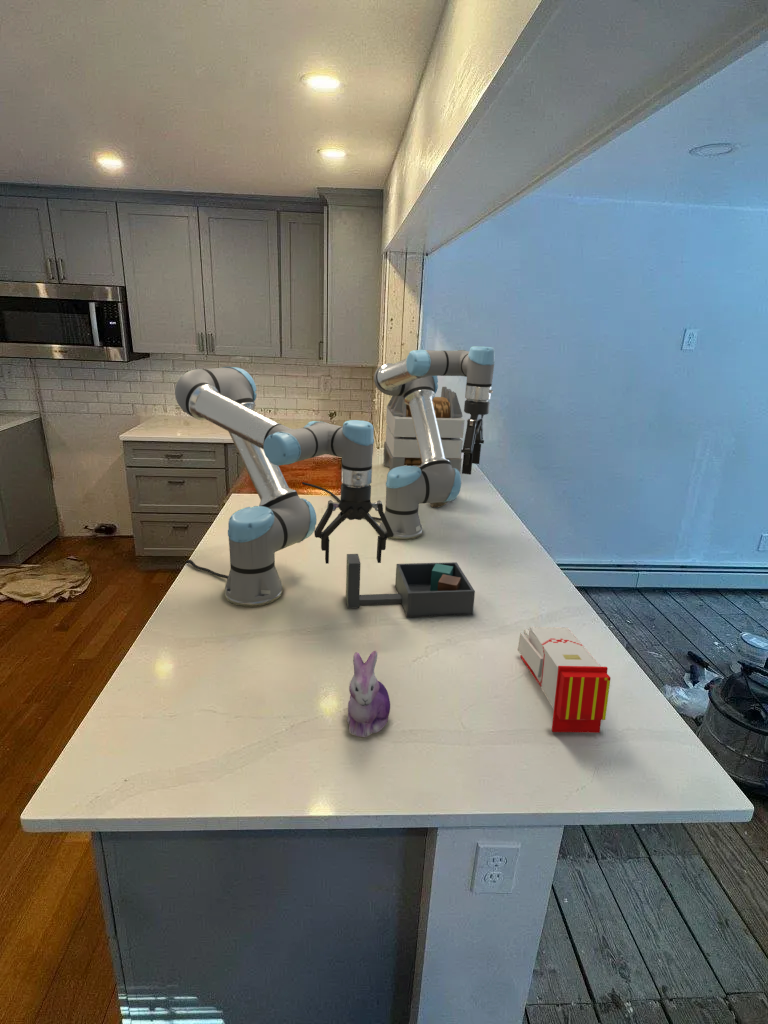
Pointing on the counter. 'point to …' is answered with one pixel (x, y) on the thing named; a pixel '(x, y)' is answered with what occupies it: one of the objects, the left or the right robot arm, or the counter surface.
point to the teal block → (439, 574)
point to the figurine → (367, 699)
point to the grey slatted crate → (403, 438)
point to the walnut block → (449, 583)
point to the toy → (566, 678)
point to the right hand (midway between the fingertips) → (470, 468)
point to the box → (413, 591)
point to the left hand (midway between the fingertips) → (352, 561)
